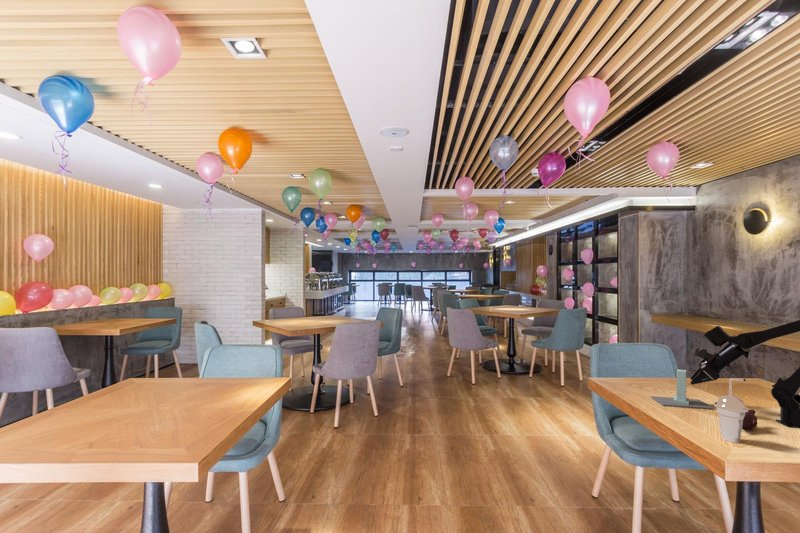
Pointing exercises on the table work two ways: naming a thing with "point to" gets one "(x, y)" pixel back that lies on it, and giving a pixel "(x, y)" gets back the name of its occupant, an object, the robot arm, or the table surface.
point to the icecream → (749, 420)
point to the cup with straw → (731, 414)
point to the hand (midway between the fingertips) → (691, 381)
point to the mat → (692, 404)
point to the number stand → (681, 388)
